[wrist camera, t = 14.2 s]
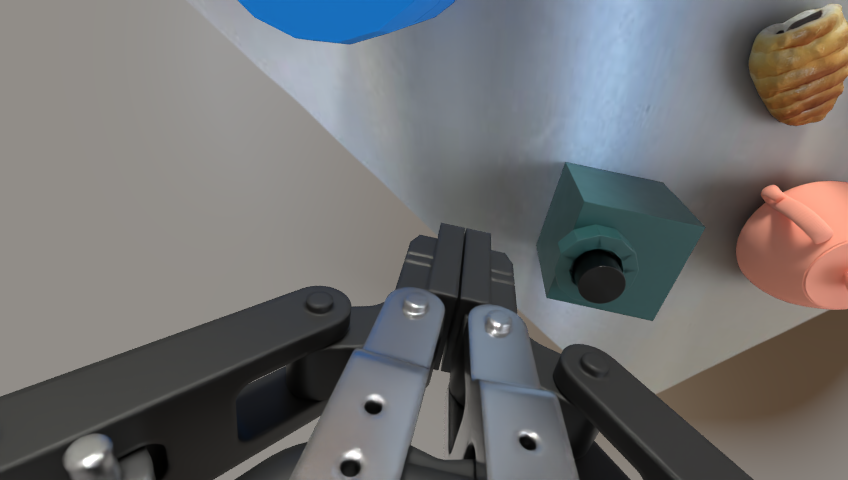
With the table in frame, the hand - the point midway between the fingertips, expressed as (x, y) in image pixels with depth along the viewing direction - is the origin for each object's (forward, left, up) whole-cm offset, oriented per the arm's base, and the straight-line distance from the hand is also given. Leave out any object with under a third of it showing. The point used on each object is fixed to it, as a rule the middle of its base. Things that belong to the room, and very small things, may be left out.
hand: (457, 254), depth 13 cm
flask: (-6, +18, -33) cm, 38 cm away
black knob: (-4, +16, -21) cm, 27 cm away
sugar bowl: (-23, +26, -33) cm, 48 cm away
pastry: (-25, +10, -33) cm, 43 cm away
